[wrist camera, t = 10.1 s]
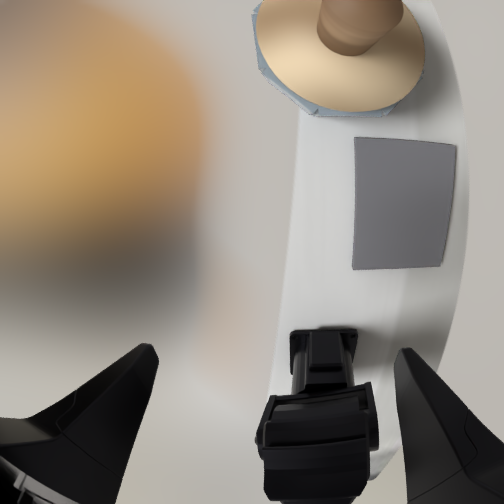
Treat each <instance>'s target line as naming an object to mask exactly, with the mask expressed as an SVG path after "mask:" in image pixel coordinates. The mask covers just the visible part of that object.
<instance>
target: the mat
mask: <svg viewBox="0 0 504 504" xmlns="http://www.w3.org/2000/svg"><path fill="white" fill-rule="evenodd" d="M354 146H355V222H354V243H353V259H352V268H353V270H371V269H397V268H419V267H439V266H440V265H441V261H442V256H443V251H444V247H445V241H446V236H447V230H448V224H449V217H450V210H451V202H452V193H453V182H454V168H455V146H454V145H450V144H442V143H434V142H425V141H414V140H402V139H386V138H359V137H354Z"/></svg>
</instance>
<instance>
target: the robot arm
mask: <svg viewBox="0 0 504 504" xmlns="http://www.w3.org/2000/svg"><path fill="white" fill-rule="evenodd" d="M352 334H354V335H352ZM294 336H296V337H294ZM357 339H358V332H357V330H354V329H351V330H325V331H293V332H291V333H290V373H291V375H293V380H292V393H291V395H282V396H277V395H270V398H269V401H268V403H267V405H266V407H265V410H264V413H263V416H262V418H261V421H260V424H259V427H258V429H257V432H256V437H255V443H256V444H257V446H258V452H259V455H260V458H261V459H262V460H263V461H264V492H265V493H266V495H267V497H268V499H269V500H270V501H280V502H281V503H282V504H351V503H352V502H353V501H354V499H355V498H356V497H357V496H360V495H361V493H362V491H363V489H364V488H365V486H366V484H367V480H368V479H369V477H370V451H376V450H378V449H379V429H378V418H377V411H376V406H375V401H374V395H373V390H372V385H371V382H366V383H365V384H361V385H356V386H355V383H354V374H353V366H352V363H353V358H354V354H355V349H356V344H357ZM158 365H159V358H158V356H157V354H156V352H155V350H154V347H153V346H152V345H151V344H147V343H141V344H140V345H138V346H137V347H135V348H134V349H132V350H131V351H130V352H129V353H127V354H126V355H124V356H123V357H121V358H120V359H119V360H117V361H116V362H114V363H113V364H112V365H110V366H109V367H107V368H106V369H105V370H103V371H102V372H100V373H99V374H97V375H96V376H95V377H93V378H92V379H90V380H89V381H87V382H86V383H85V384H83V385H82V386H80V387H79V388H78V389H77V390H75V391H73V392H72V393H70V394H69V395H67V396H66V397H64V398H63V399H61V400H60V401H58V402H56V403H55V404H53V405H52V406H50V407H48V408H46V409H45V410H42V411H41V412H39V413H37V414H35V415H34V416H31V417H29V418H24V419H15V418H2V417H0V504H115V503H116V499H117V496H118V492H119V489H120V486H121V483H122V478H123V476H124V473H125V469H126V466H127V463H128V460H129V457H130V454H131V451H132V448H133V445H134V442H135V439H136V436H137V433H138V430H139V427H140V425H141V422H142V419H143V416H144V413H145V410H146V407H147V405H148V402H149V399H150V396H151V393H152V388H153V384H154V380H155V376H156V373H157V369H158ZM394 377H395V389H396V404H397V412H398V417H399V424H400V430H401V437H402V445H403V453H404V462H405V472H406V484H407V501H408V502H407V504H504V443H503V442H502V441H501V440H500V439H499V438H497V437H496V436H495V435H494V434H493V433H492V432H491V431H490V430H489V429H488V428H487V427H486V426H485V425H483V424H482V422H481V421H480V420H479V419H478V418H477V417H476V416H475V415H474V414H473V413H472V412H471V411H470V409H468V407H467V406H466V405H465V404H464V403H463V402H462V401H461V400H460V398H459V397H458V396H457V395H456V394H455V393H454V392H453V391H452V390H451V389H450V387H449V386H448V385H447V384H446V383H445V382H444V381H443V380H442V379H441V378H440V377H439V376H438V375H437V374H436V373H435V372H434V371H433V369H432V368H431V367H430V366H429V365H428V364H427V363H426V362H425V361H424V360H423V359H422V358H421V357H420V356H419V355H418V354H417V353H416V352H415V351H414V350H413V349H412V348H401V349H400V350H399V352H398V355H397V358H396V360H395V363H394Z"/></svg>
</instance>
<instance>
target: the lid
mask: <svg viewBox="0 0 504 504" xmlns="http://www.w3.org/2000/svg"><path fill="white" fill-rule="evenodd" d="M256 34H257V39H258V44H259V47H260V49H261V52H262V55H263V56H264V58H265V60H266V62H267V64H268V65H269V67H270V69H271V70H272V71H273V73H274V74H275V75H276V76H277V78H278V79H279V80H280V81H281V82H282V83H283V84H284V85H285V86H287V87H288V88H289V89H290V90H291V91H293V92H294V93H296V94H297V95H299V96H300V97H302V98H304V99H306V100H307V101H309V102H312V103H314V104H316V105H319V106H322V107H325V108H328V109H332V110H337V111H346V112H364V111H372V110H378V109H381V108H384V107H387V106H390V105H392V104H394V103H396V102H398V101H399V100H401V99H402V98H404V97H405V96H406V95H407V94H408V93H409V92H410V91H411V90H412V89H413V88H414V86H415V85H416V83H417V82H418V80H419V78H420V76H421V73H422V70H423V66H424V61H425V48H424V41H423V37H422V33H421V31H420V28H419V26H418V23H417V22H416V20H415V18H414V16H413V15H412V13H411V12H410V10H409V9H408V8H407V6H406V5H405V4H404V3H403V2H402V1H401V0H263V2H262V4H261V6H260V8H259V11H258V15H257V21H256Z"/></svg>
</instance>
